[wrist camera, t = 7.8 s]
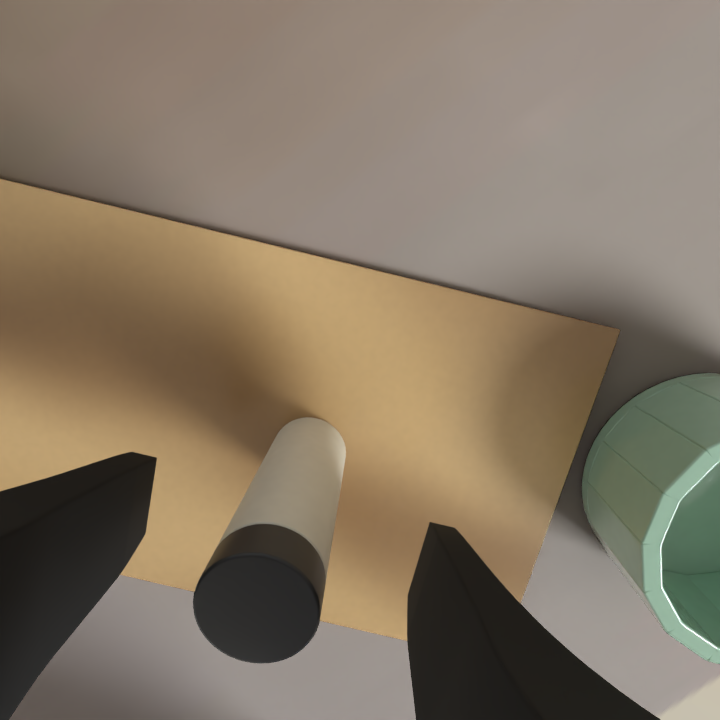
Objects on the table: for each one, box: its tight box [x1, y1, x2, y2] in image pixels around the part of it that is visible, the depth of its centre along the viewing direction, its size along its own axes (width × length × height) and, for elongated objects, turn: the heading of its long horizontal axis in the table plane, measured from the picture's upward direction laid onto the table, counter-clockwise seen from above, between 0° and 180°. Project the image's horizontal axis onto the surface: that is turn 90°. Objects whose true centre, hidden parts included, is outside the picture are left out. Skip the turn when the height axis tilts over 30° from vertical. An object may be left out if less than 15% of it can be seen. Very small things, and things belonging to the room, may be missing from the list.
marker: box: [193, 417, 346, 663], centre depth 12 cm, size 2×2×7 cm
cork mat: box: [0, 178, 620, 641], centre depth 16 cm, size 12×20×1 cm, turn 77°
